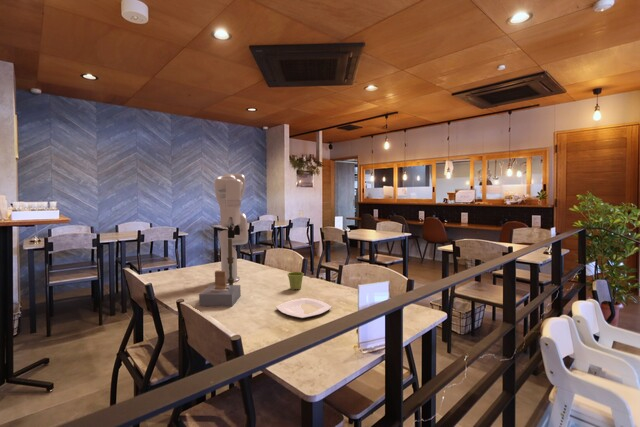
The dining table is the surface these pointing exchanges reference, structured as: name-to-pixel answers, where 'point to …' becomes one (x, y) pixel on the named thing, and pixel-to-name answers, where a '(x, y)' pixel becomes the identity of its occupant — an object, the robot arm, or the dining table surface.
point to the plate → (297, 311)
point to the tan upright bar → (220, 280)
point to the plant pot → (295, 279)
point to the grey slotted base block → (220, 296)
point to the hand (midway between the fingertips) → (234, 236)
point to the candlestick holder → (230, 261)
